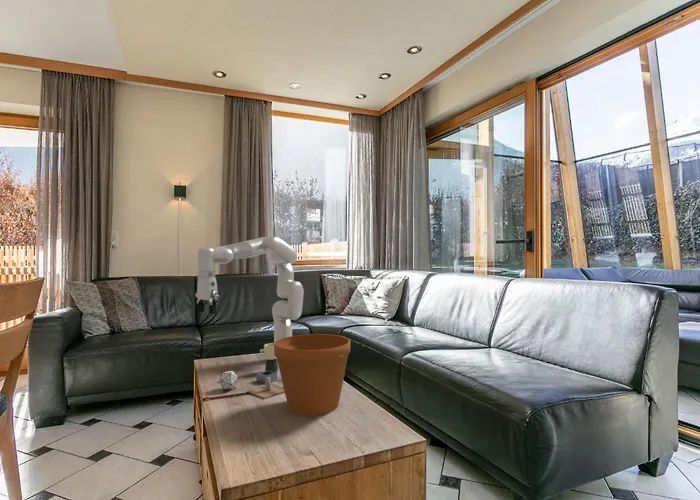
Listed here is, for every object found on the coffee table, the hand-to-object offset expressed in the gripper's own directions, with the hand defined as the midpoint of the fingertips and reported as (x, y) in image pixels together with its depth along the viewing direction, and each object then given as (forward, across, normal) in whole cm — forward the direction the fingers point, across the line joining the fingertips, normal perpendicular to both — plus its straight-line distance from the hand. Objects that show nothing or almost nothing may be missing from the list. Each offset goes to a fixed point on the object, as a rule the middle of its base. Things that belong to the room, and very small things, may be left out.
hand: (206, 312), depth 178 cm
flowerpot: (+31, -61, -6) cm, 68 cm away
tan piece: (+30, -35, -6) cm, 47 cm away
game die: (+31, -20, +2) cm, 36 cm away
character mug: (+31, -14, -25) cm, 42 cm away
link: (+30, -24, -15) cm, 41 cm away
